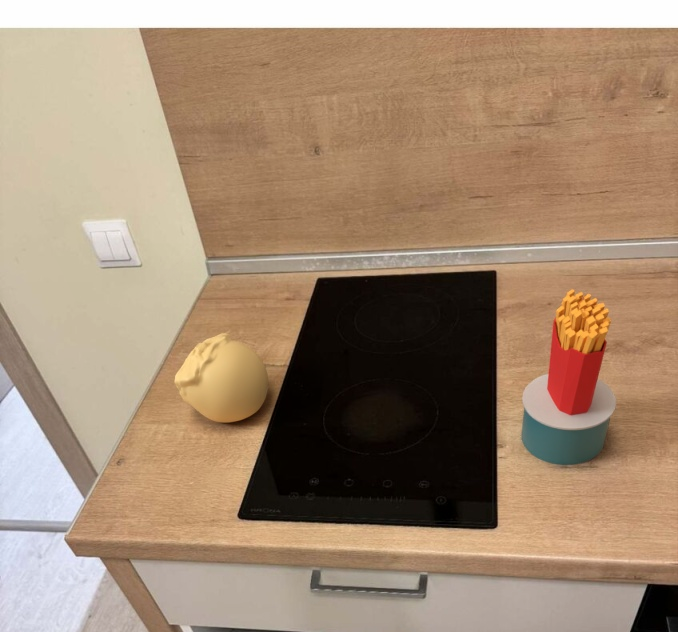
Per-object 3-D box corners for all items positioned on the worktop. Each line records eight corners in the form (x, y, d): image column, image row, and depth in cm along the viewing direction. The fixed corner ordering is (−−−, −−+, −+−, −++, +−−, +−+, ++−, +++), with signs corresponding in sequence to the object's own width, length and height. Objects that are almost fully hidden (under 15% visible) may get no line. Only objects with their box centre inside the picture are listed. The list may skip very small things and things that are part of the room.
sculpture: (217, 378, 96) (196, 318, 89) (286, 387, 92) (270, 325, 85) (180, 426, 89) (153, 365, 82) (252, 438, 85) (231, 376, 78)
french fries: (540, 379, 74) (551, 288, 65) (573, 373, 74) (588, 282, 65) (565, 424, 68) (581, 332, 59) (601, 418, 68) (622, 324, 59)
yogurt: (593, 415, 79) (603, 367, 74) (614, 472, 72) (627, 424, 67) (512, 421, 80) (516, 375, 75) (525, 478, 73) (530, 431, 68)
